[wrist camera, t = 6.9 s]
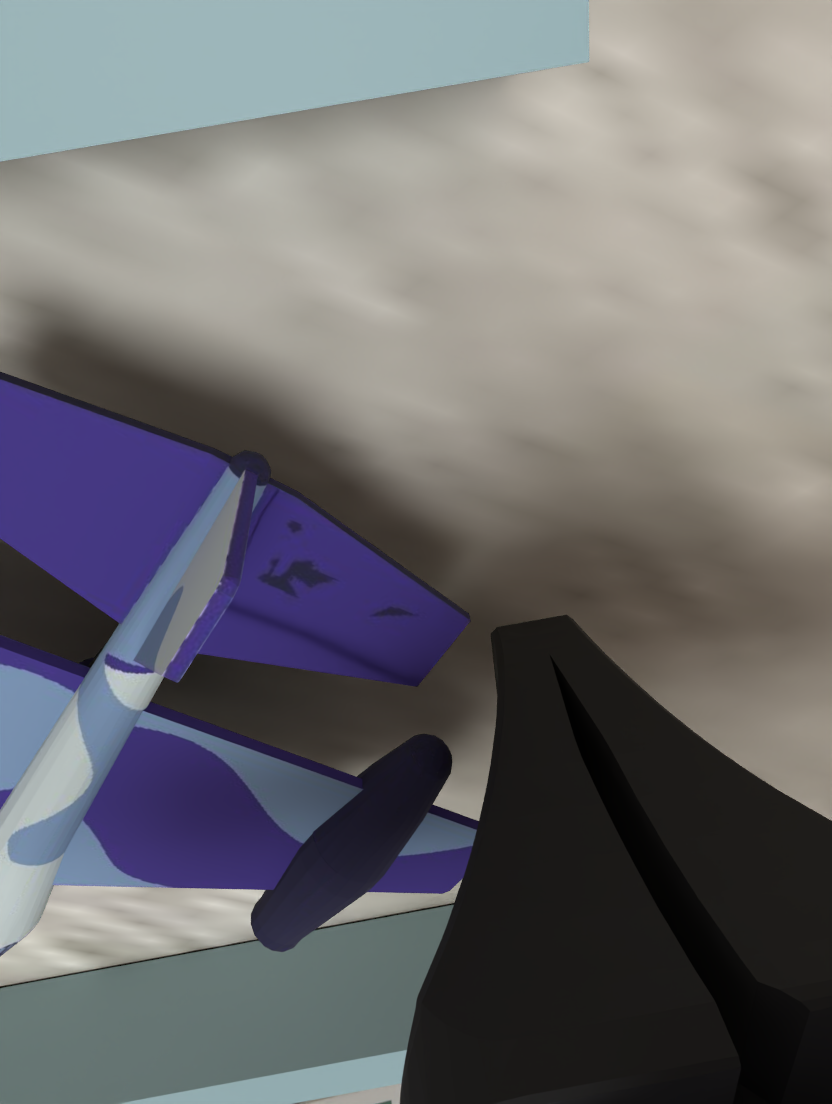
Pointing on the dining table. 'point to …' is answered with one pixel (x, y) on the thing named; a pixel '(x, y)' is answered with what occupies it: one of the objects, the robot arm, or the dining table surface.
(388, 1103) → the syrup box
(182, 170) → the dining table surface
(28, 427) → the toy airplane
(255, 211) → the dining table surface
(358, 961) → the bay
